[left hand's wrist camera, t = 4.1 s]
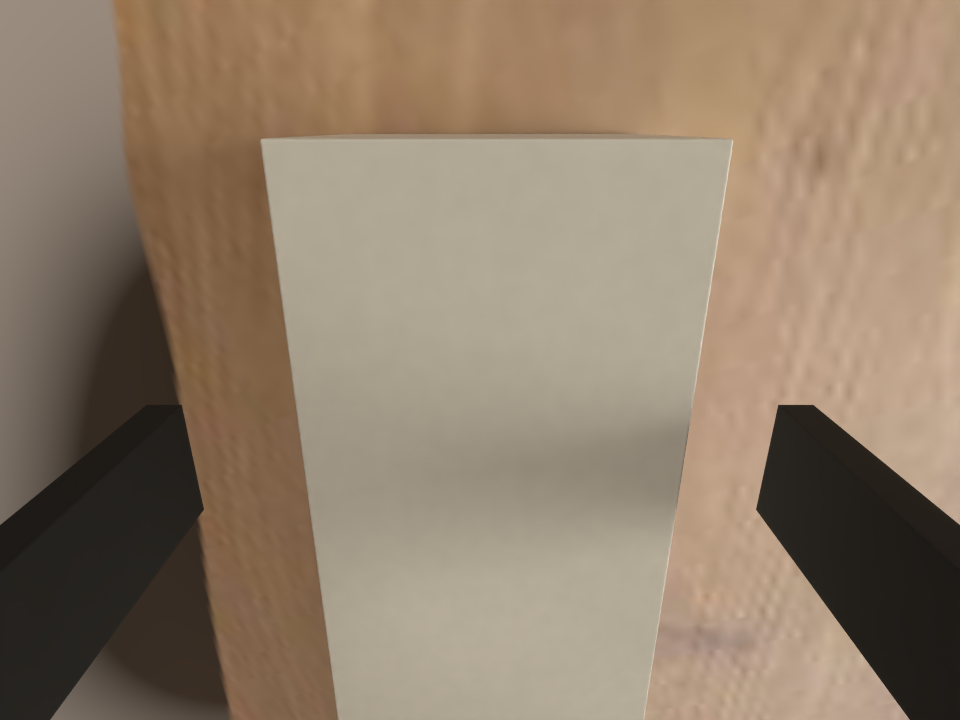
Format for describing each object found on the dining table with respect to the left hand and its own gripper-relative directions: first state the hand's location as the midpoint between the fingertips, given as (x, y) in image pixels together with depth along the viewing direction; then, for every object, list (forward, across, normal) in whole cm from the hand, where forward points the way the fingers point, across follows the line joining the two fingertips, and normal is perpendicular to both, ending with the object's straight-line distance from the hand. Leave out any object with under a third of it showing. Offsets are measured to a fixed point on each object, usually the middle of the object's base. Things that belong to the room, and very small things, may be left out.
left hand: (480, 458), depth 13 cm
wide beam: (+7, 0, -26) cm, 27 cm away
